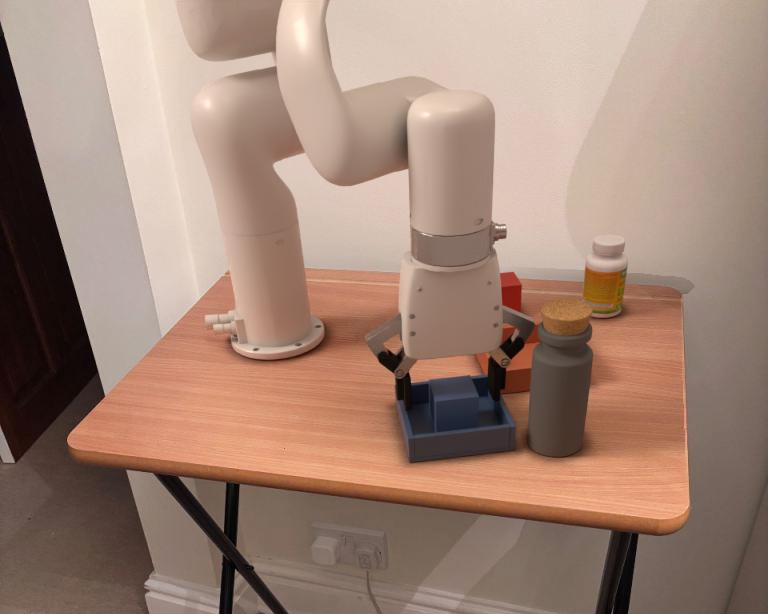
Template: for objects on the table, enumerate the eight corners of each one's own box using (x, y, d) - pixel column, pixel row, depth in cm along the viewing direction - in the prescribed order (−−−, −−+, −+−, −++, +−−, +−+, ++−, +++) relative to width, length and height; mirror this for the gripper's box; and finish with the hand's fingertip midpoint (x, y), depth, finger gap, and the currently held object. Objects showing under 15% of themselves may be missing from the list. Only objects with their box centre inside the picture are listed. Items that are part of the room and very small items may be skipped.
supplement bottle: (621, 319, 103) (632, 247, 97) (580, 318, 104) (587, 246, 98) (620, 302, 107) (630, 232, 101) (580, 301, 108) (587, 231, 102)
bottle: (583, 459, 79) (600, 323, 70) (525, 456, 80) (534, 321, 71) (582, 427, 84) (597, 296, 74) (527, 425, 85) (536, 295, 75)
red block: (487, 320, 106) (488, 288, 103) (480, 306, 109) (480, 274, 106) (520, 316, 106) (522, 284, 103) (512, 303, 109) (513, 271, 106)
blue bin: (409, 462, 81) (408, 438, 79) (395, 407, 90) (394, 384, 88) (514, 450, 81) (516, 426, 80) (491, 396, 90) (492, 373, 88)
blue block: (436, 438, 83) (435, 401, 80) (429, 415, 87) (428, 379, 84) (478, 433, 83) (479, 396, 81) (470, 411, 87) (470, 374, 84)
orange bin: (493, 394, 90) (493, 371, 88) (473, 350, 99) (474, 328, 97) (587, 384, 91) (590, 361, 89) (559, 341, 100) (561, 319, 98)
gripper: (530, 219, 76) (520, 374, 87) (355, 236, 75) (367, 390, 86) (552, 247, 70) (538, 409, 81) (362, 266, 69) (374, 427, 80)
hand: (450, 399), depth 84 cm, fingers open, 9 cm apart
